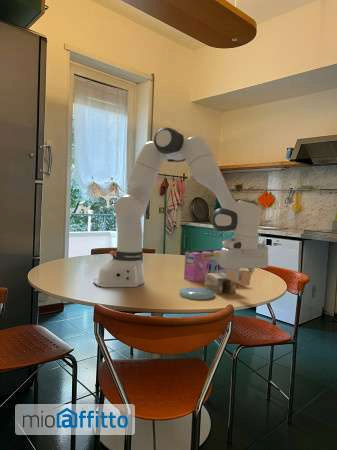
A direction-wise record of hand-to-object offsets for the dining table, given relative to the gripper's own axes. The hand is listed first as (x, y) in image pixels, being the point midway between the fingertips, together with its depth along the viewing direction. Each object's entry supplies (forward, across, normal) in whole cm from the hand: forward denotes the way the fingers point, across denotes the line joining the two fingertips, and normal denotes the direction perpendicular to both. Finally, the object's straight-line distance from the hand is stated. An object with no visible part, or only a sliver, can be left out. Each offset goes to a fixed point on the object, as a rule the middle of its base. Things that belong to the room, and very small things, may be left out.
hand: (242, 279), depth 120 cm
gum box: (+9, -7, -39) cm, 41 cm away
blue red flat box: (+9, -11, -24) cm, 28 cm away
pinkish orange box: (+2, 0, -4) cm, 4 cm away
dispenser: (+9, -1, -16) cm, 18 cm away
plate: (+9, +12, -13) cm, 20 cm away
